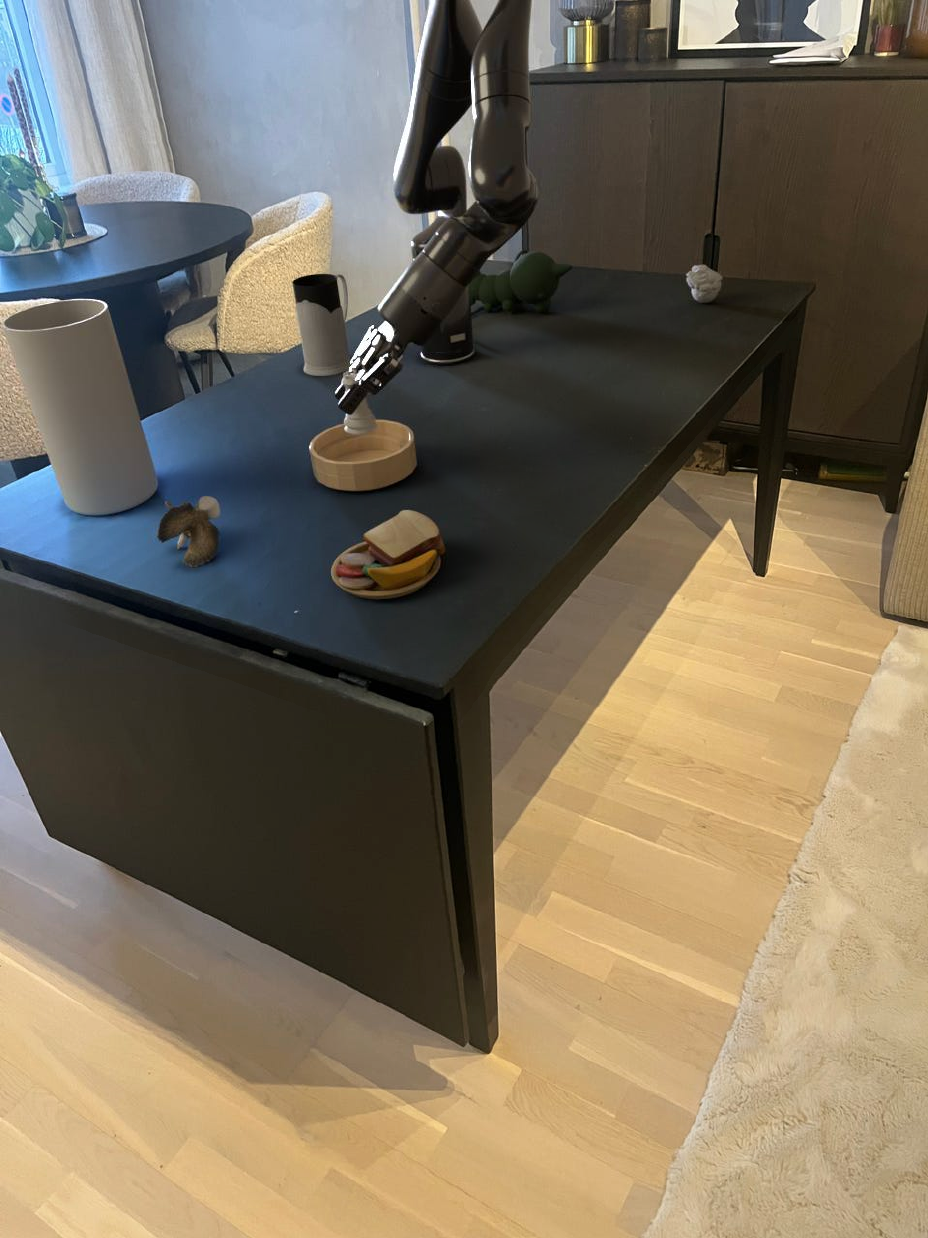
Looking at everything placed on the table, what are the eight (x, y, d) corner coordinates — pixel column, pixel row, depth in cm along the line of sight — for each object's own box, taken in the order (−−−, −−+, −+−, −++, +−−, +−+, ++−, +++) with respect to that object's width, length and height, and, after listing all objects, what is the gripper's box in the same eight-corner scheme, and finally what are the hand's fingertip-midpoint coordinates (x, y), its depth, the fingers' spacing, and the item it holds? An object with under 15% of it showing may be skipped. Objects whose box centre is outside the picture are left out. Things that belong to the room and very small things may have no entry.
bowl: (317, 454, 136) (312, 425, 134) (415, 444, 137) (412, 415, 134) (312, 499, 125) (306, 468, 122) (418, 488, 125) (415, 457, 122)
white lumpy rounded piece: (680, 299, 182) (682, 262, 179) (715, 296, 183) (718, 258, 179) (689, 309, 178) (692, 271, 174) (726, 305, 178) (729, 267, 174)
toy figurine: (450, 321, 187) (567, 319, 176) (434, 220, 177) (556, 211, 166) (471, 306, 194) (585, 303, 183) (456, 209, 184) (576, 199, 173)
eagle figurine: (154, 529, 118) (145, 553, 110) (174, 479, 116) (166, 498, 108) (212, 552, 121) (208, 576, 113) (233, 503, 119) (230, 524, 111)
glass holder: (294, 373, 164) (278, 286, 156) (333, 346, 175) (320, 263, 166) (338, 377, 161) (324, 288, 153) (375, 349, 172) (364, 264, 163)
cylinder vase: (108, 525, 123) (45, 336, 108) (47, 506, 129) (-21, 324, 114) (178, 485, 131) (128, 304, 117) (118, 469, 137) (63, 295, 123)
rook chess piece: (383, 424, 128) (375, 367, 124) (369, 438, 125) (361, 380, 120) (353, 422, 130) (344, 366, 125) (339, 436, 126) (329, 378, 122)
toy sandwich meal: (316, 566, 110) (309, 531, 108) (419, 532, 115) (415, 498, 112) (358, 617, 101) (351, 579, 98) (468, 578, 106) (465, 541, 103)
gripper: (389, 267, 123) (313, 371, 128) (409, 295, 112) (324, 408, 117) (433, 302, 127) (357, 402, 132) (456, 332, 116) (372, 441, 121)
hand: (342, 404), depth 125 cm, fingers closed on rook chess piece, 3 cm apart
